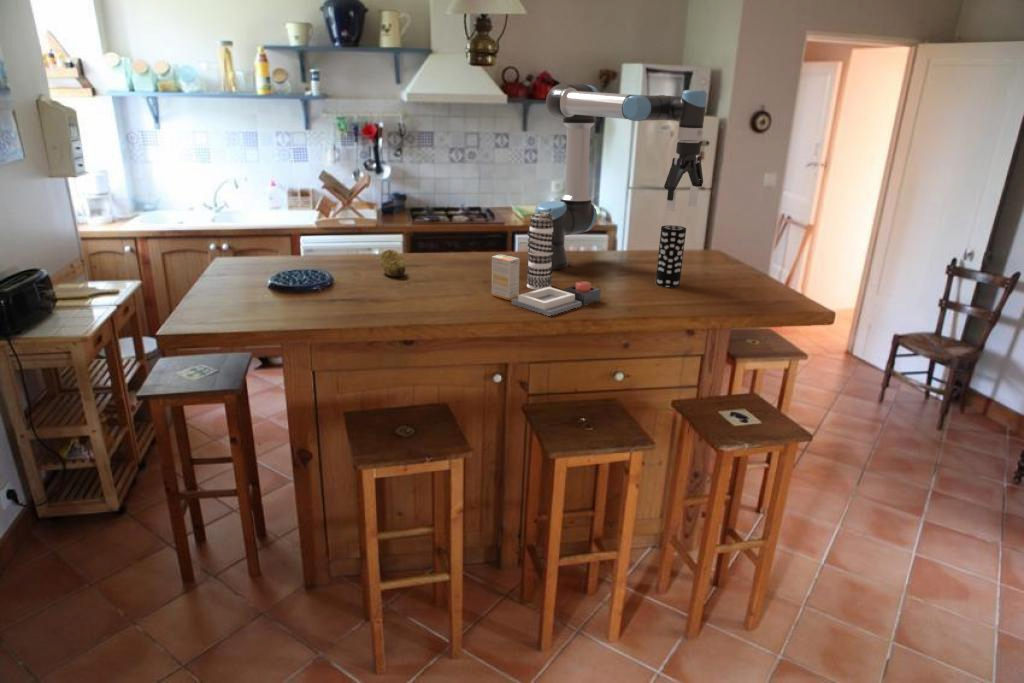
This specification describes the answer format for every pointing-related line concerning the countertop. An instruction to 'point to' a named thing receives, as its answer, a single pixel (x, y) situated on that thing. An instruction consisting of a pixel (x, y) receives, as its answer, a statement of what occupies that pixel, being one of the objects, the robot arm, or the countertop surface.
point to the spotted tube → (670, 256)
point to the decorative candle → (540, 250)
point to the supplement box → (505, 276)
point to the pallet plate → (547, 301)
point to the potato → (392, 263)
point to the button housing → (585, 295)
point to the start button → (583, 286)
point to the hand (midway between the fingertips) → (681, 208)
